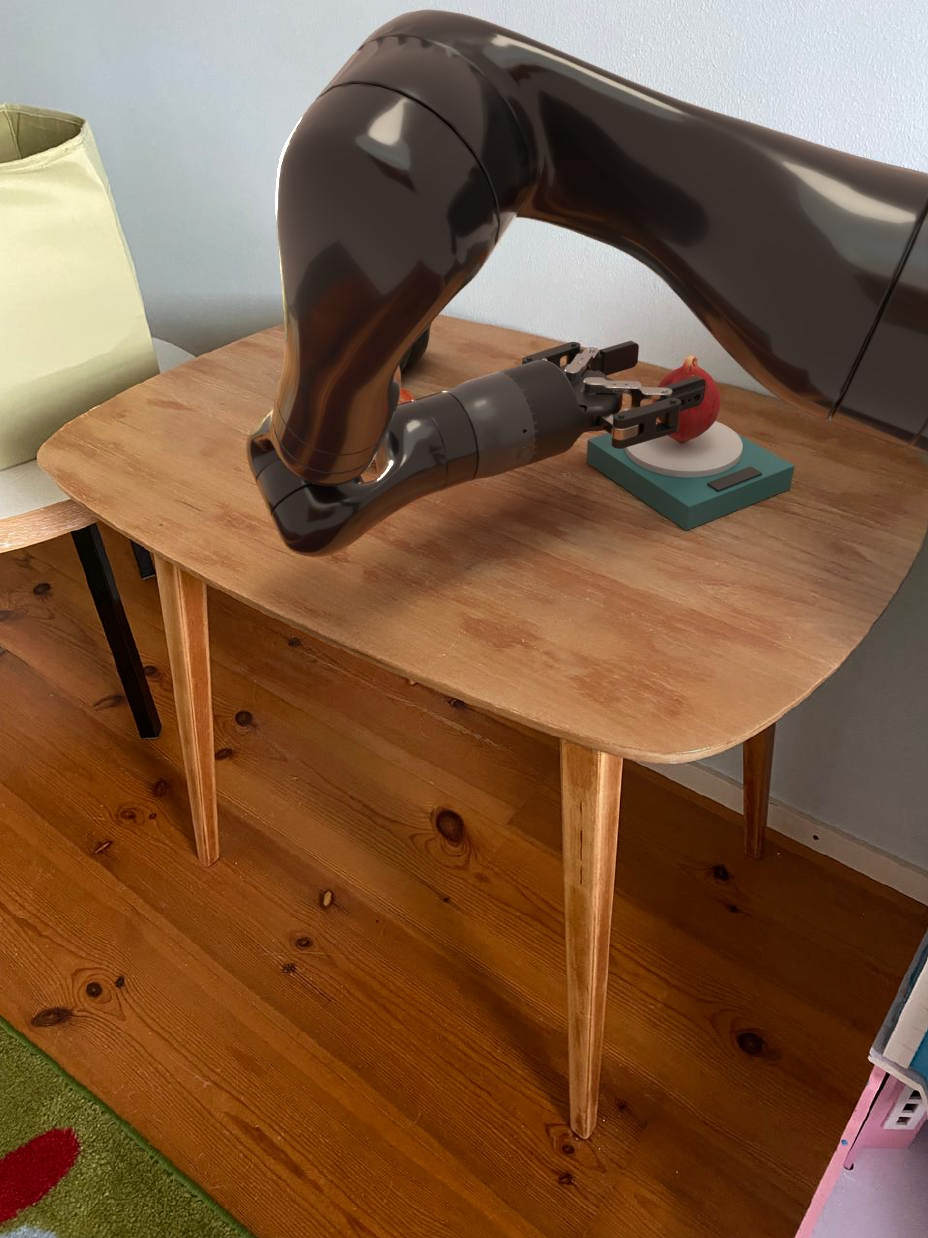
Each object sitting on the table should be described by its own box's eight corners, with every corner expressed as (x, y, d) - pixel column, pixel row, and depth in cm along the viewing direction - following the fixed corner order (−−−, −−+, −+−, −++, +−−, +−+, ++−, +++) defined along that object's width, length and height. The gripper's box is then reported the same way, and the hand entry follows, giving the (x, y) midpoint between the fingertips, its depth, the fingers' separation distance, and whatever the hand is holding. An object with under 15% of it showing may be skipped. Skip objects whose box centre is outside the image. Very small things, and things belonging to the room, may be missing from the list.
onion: (720, 457, 86) (732, 371, 81) (653, 458, 86) (662, 373, 81) (708, 425, 90) (719, 342, 85) (645, 427, 91) (652, 344, 86)
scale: (790, 489, 87) (796, 458, 85) (686, 531, 83) (690, 499, 81) (684, 427, 97) (688, 398, 95) (586, 462, 92) (587, 432, 90)
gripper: (559, 412, 69) (733, 356, 75) (456, 344, 79) (618, 300, 85) (556, 503, 74) (720, 444, 80) (459, 428, 83) (612, 381, 90)
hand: (667, 370), depth 82 cm, fingers open, 8 cm apart
